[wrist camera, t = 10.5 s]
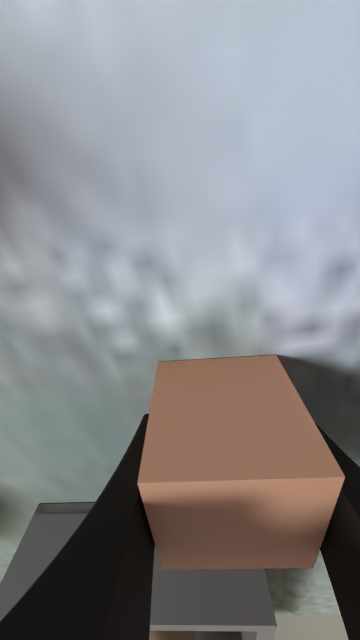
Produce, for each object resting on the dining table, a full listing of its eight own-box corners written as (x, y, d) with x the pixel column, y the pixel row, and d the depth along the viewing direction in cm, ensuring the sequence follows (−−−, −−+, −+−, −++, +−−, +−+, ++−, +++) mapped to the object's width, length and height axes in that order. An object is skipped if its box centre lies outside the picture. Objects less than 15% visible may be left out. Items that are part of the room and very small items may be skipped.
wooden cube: (276, 354, 10) (345, 476, 6) (267, 435, 12) (312, 567, 8) (158, 362, 11) (137, 483, 6) (170, 439, 13) (162, 569, 8)
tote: (250, 498, 15) (276, 625, 11) (243, 603, 23) (256, 701, 18) (38, 504, 16) (-19, 623, 11) (102, 603, 24) (82, 697, 19)
